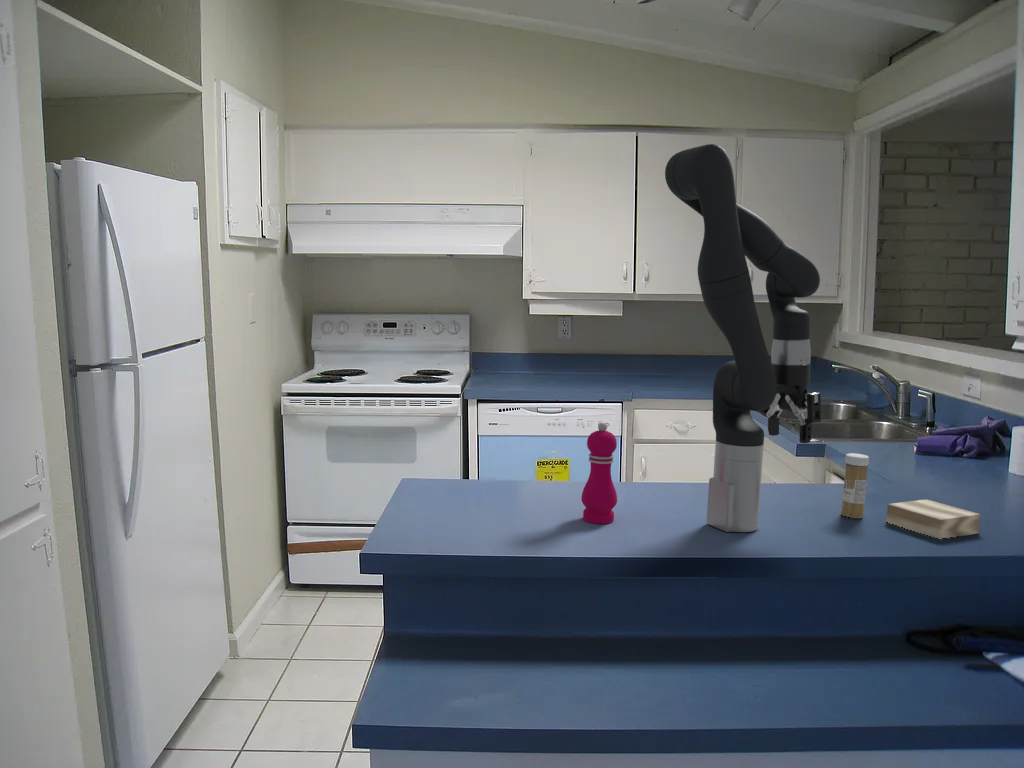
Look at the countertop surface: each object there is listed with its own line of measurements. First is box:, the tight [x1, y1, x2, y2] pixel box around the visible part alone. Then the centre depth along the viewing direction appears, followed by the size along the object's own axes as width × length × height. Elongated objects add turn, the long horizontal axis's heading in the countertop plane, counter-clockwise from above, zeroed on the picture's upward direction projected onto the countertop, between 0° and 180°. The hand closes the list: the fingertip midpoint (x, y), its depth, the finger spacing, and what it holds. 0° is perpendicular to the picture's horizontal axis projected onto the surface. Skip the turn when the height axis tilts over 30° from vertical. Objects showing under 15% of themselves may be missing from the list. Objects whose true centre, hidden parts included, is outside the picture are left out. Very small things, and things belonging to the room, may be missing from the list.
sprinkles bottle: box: [840, 452, 870, 519], centre depth 165 cm, size 5×5×14 cm
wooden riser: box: [885, 498, 981, 540], centre depth 158 cm, size 12×12×4 cm
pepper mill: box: [580, 422, 618, 525], centre depth 155 cm, size 7×7×20 cm
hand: (789, 438), depth 159 cm, fingers open, 8 cm apart
